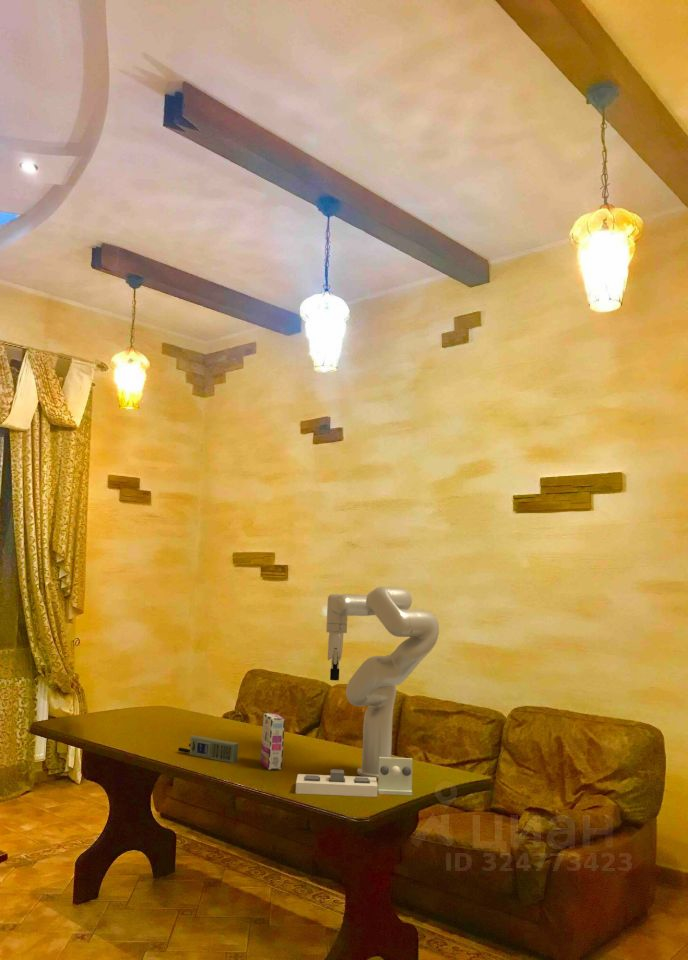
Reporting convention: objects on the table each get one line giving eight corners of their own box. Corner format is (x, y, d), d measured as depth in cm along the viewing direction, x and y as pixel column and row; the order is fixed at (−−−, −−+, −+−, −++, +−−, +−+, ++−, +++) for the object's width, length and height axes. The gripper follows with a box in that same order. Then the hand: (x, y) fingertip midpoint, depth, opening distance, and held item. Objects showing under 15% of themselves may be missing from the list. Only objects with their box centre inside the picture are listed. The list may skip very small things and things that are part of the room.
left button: (318, 787, 217) (318, 775, 217) (318, 790, 213) (318, 779, 213) (305, 786, 217) (305, 775, 217) (304, 790, 213) (305, 778, 213)
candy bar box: (282, 770, 236) (285, 718, 239) (268, 770, 235) (271, 718, 237) (274, 762, 247) (276, 712, 249) (259, 762, 245) (262, 712, 247)
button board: (375, 787, 220) (375, 777, 220) (377, 796, 210) (377, 786, 210) (297, 784, 220) (298, 774, 220) (295, 793, 210) (296, 782, 210)
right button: (367, 789, 217) (368, 777, 217) (368, 792, 213) (368, 781, 213) (354, 788, 217) (355, 777, 217) (354, 792, 213) (355, 780, 213)
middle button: (343, 781, 217) (343, 769, 218) (343, 784, 213) (343, 773, 214) (330, 780, 217) (330, 769, 218) (330, 784, 213) (330, 772, 214)
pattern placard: (410, 791, 217) (411, 757, 218) (412, 795, 213) (412, 760, 215) (377, 790, 217) (378, 756, 218) (378, 793, 213) (379, 758, 215)
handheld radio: (232, 764, 242) (175, 753, 253) (238, 763, 244) (181, 752, 256) (234, 743, 243) (177, 734, 255) (240, 742, 246) (183, 732, 257)
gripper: (326, 626, 270) (324, 677, 267) (326, 629, 255) (323, 682, 252) (346, 627, 270) (344, 678, 267) (347, 630, 255) (344, 683, 252)
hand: (334, 679), depth 260 cm, fingers closed
